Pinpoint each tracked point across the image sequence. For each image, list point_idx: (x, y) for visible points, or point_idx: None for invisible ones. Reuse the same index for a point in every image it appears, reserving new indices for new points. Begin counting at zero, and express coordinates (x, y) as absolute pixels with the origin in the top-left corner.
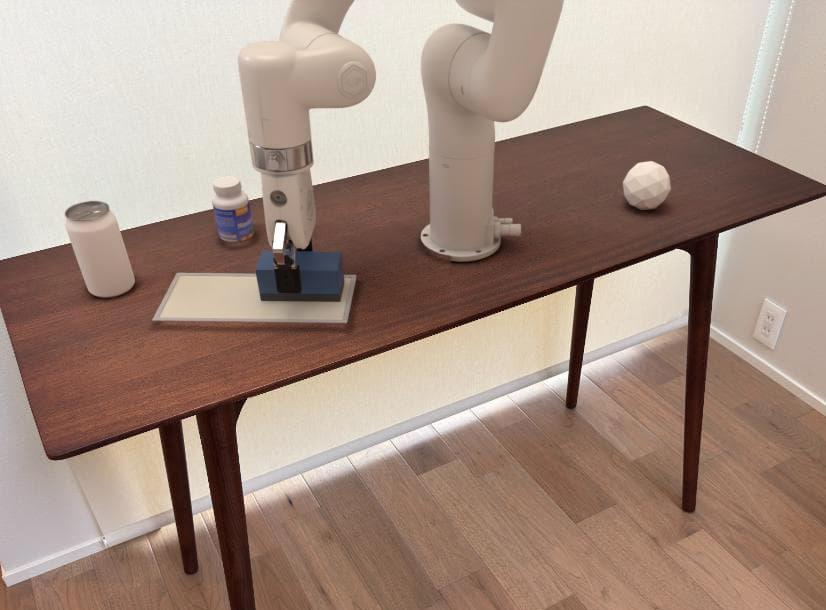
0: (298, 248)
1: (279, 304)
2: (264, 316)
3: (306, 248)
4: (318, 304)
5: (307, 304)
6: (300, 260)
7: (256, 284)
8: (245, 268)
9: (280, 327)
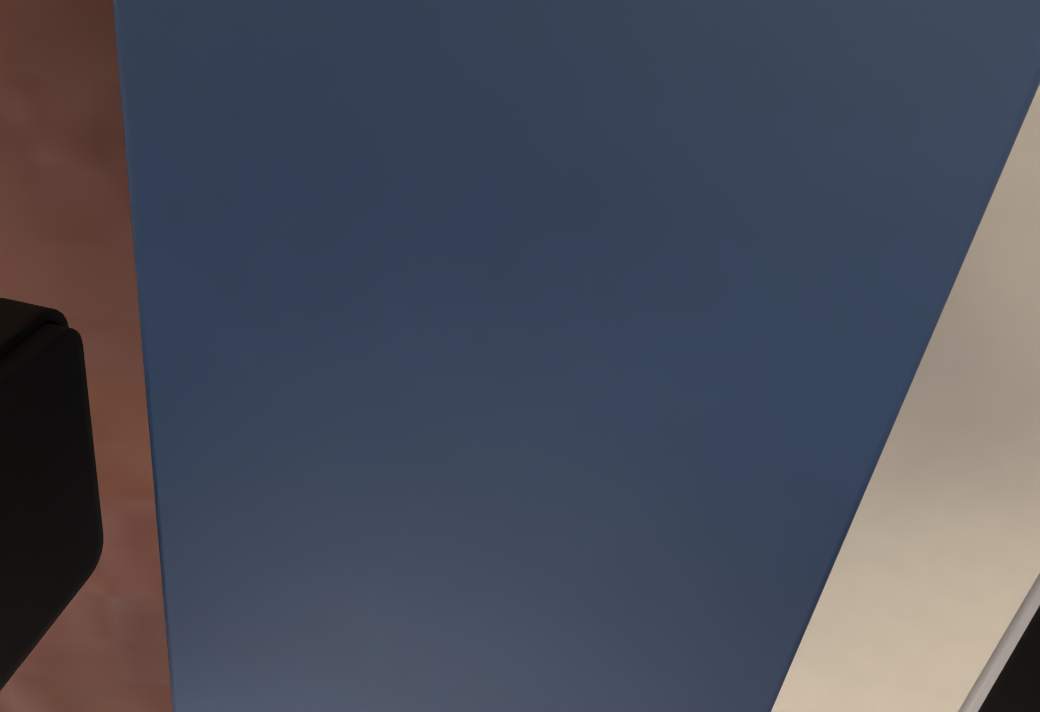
0: (22, 550)
1: None
2: (934, 661)
3: (1, 452)
4: None
5: None
6: (461, 608)
7: None
8: (64, 649)
9: None
